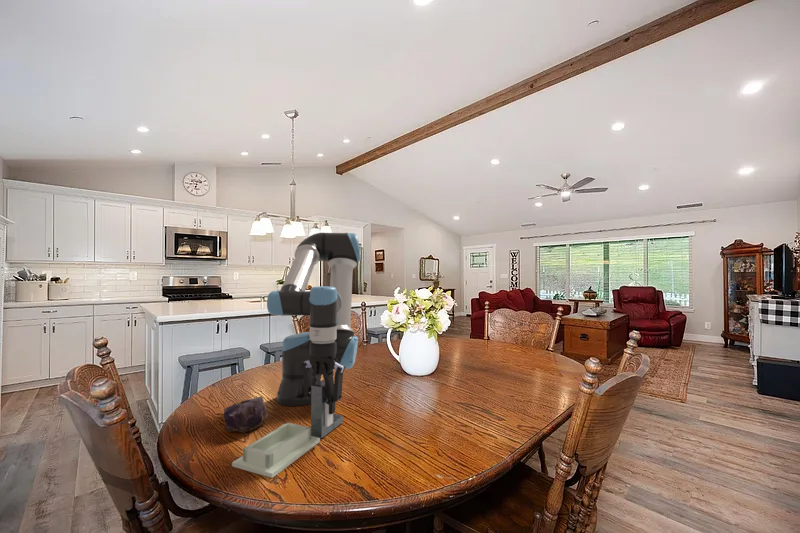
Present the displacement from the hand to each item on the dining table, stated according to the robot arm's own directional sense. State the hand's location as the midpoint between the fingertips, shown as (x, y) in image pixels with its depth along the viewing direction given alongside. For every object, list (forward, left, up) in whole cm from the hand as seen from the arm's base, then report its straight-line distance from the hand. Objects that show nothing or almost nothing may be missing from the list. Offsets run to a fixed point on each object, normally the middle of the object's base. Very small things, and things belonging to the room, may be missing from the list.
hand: (322, 423), depth 99 cm
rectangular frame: (-4, -13, -3) cm, 14 cm away
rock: (-22, -6, -3) cm, 23 cm away
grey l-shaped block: (0, +3, -3) cm, 4 cm away
